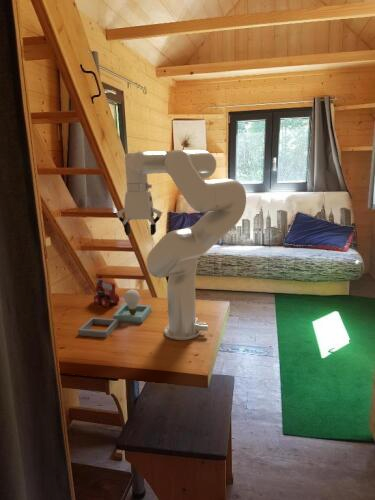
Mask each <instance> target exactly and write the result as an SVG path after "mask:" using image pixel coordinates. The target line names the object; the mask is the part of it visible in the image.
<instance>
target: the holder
mask: <svg viewBox="0 0 375 500" xmlns="http://www.w3.org/2000/svg"><path fill="white" fill-rule="evenodd" d="M119 323H120V322H118V319H114V318H104V317H103V318H102V317H91V318H90V319H88V321H86V322H85V323H84V324H83V325H82V326H80V328H78V329H77V333H78V336H84V337H85V336H86V337H96V338H108V337H109V336H110V335H111V333H112V332H113V331H114V330H115V329H116V328H117V327H118V326H119ZM93 325H107V326H108V327H107V328H106V329H105V330H101V329H90V328H91V327H92V326H93Z"/></svg>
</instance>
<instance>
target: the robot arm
mask: <svg viewBox="0 0 375 500" xmlns="http://www.w3.org/2000/svg"><path fill="white" fill-rule="evenodd" d="M124 165H125V180H126V192H125V196H124V204H123V205H124V208H122V209H120V210H118V211H116V216H117V217H118V219H119V221H120V222H121V223H122V225H123V228H124V229H123V230H124V234H125V236H128V235H130V234H131V226H130V225H131V224H130V221H131V220H133V221H134V220H148V221H149V223H151V224H150V225H149V226H150V235H151V236H155V234H156V232H157V223H158V221H160V219H161V218H162V215H163V211H161V210H160V209H158V208H155V207H154V201H153V196H152V192H151V191H149V189H152V184H149V182H148V175H151V174H152V175H153V174H167V175H169V176H170V178H171V180H172V181H173V183H174V185H175V186H176V188H177V189H178V191H179V192H180V193H181V195H182V197H183V198H184V200H185V201H186V203H187V204H188V205H189V207H190V208H191V209H193V210H194V211H195V212H199V213H205V214H204V215H202V216H201V217H200V218H199V220H198V221H196V223H194V224H193V225H192V226H189V227H184V228H180V229H176V230H175V229H174V230H172V231H169V232H167V233H166V234H164V235H163V237H161V239H160V240H159V241H158V242H157V243H156V244H155V245H154V246H153V247H152V249H150V251H149V252H148V255H147V257H146V268H147V271H148V272H149V274H150V275H151V276H153V277H154V278H157V279H162V278H167V277H168V280H167V285H166V289H167V291H166V292H167V293H166V295H167V296H166V297H167V316H168V317H167V319H168V322H167V323H168V324H167V325H166V326H165V328H164V331H163V332H164V335H165V337H167V338H169V339H171V340H176V341H188V340H192V339H194V338H197V337H198V336H199V335H200V334H201V331H202V332H204V331H205V332H208V331H209V325H207V322H199V318H198V317H197V315H196V314H197V313H196V312H197V311H196V307H197V306H196V275H197V274H196V273H197V266H198V262H199V261H198V260H199V257H201V256H204V255H205V254H206V253H208V251H209V250H211V248H213V247H214V246H215V245H216V244H217V243H218V242H219V241H220V240H221V239H222V238H223V237H224V236H225V235H226V234H227V233H229V232H230V231H231V230H232V229H233V228H234V227H236V225H237V224H238V223H239V221H240V220H241V218H242V217H243V215H244V212H245V209H246V205H247V193H246V190H245V187H244V186H243V184H242V183H240V182H239V181H237V180H235V179H232V178H217V179H207V178H210V177H211V176H212V175H213V174H214V173H215V171H216V169H217V160H216V158H215V156H214V155H213V154H212V153H211V152H209V151H207V150H203V149H172V150H171V151H170V150H167V151H166V150H165V151H164V150H161V151H160V150H150V151H147V150H146V151H137V152H128V153H126V154H125V156H124ZM205 179H206V180H205ZM123 213H124V216H123ZM155 214H156V217H154V216H155Z"/></svg>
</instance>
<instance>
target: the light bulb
mask: <svg viewBox="0 0 375 500" xmlns="http://www.w3.org/2000/svg"><path fill="white" fill-rule="evenodd" d="M140 296H141V295H140V293H139V292H138V290H136V289H133V288H132V289H128V290H127V291H126V292H125V293H124V296H123V299H124V302H125V304H127V305H128V307H129V312H130V314H132V315H134V314H135V313H136V307H137V305H138V303H139V301H140V298H141V297H140Z"/></svg>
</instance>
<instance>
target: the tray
mask: <svg viewBox="0 0 375 500" xmlns="http://www.w3.org/2000/svg"><path fill="white" fill-rule="evenodd" d="M151 313H152V305H146V304H137V307H136V313H135V314H134V315H132V314H130V312H129V307H128V305H127V303H124V304H123V305H122V306H121V307H120V308H119V309H118V310H117V311H116V312H114V314H113V315H112V316H113V318H112V319H118V323H127V324H128V323H130V324H143V323H144V322H145V321H146V319H147V318H148V317H149V316H150V314H151Z"/></svg>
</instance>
